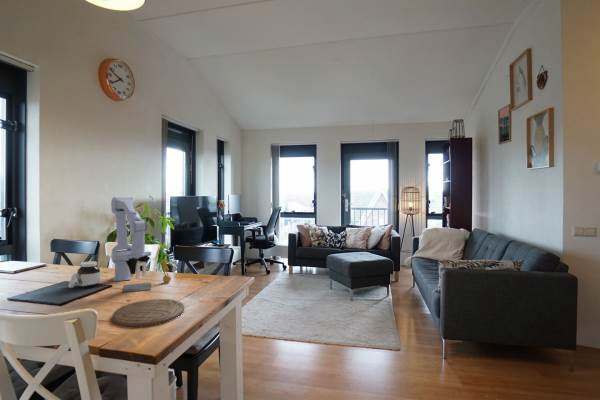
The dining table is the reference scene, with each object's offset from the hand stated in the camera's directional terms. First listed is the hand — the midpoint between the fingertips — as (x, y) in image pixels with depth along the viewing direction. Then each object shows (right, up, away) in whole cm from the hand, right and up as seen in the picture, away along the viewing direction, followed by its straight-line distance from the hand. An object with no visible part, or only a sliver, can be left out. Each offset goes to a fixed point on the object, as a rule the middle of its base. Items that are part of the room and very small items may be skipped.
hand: (137, 272), depth 154 cm
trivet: (+21, -9, -32) cm, 39 cm away
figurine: (+9, -8, +11) cm, 16 cm away
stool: (0, -2, 0) cm, 2 cm away
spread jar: (-27, -7, 0) cm, 28 cm away
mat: (0, -8, 0) cm, 8 cm away
